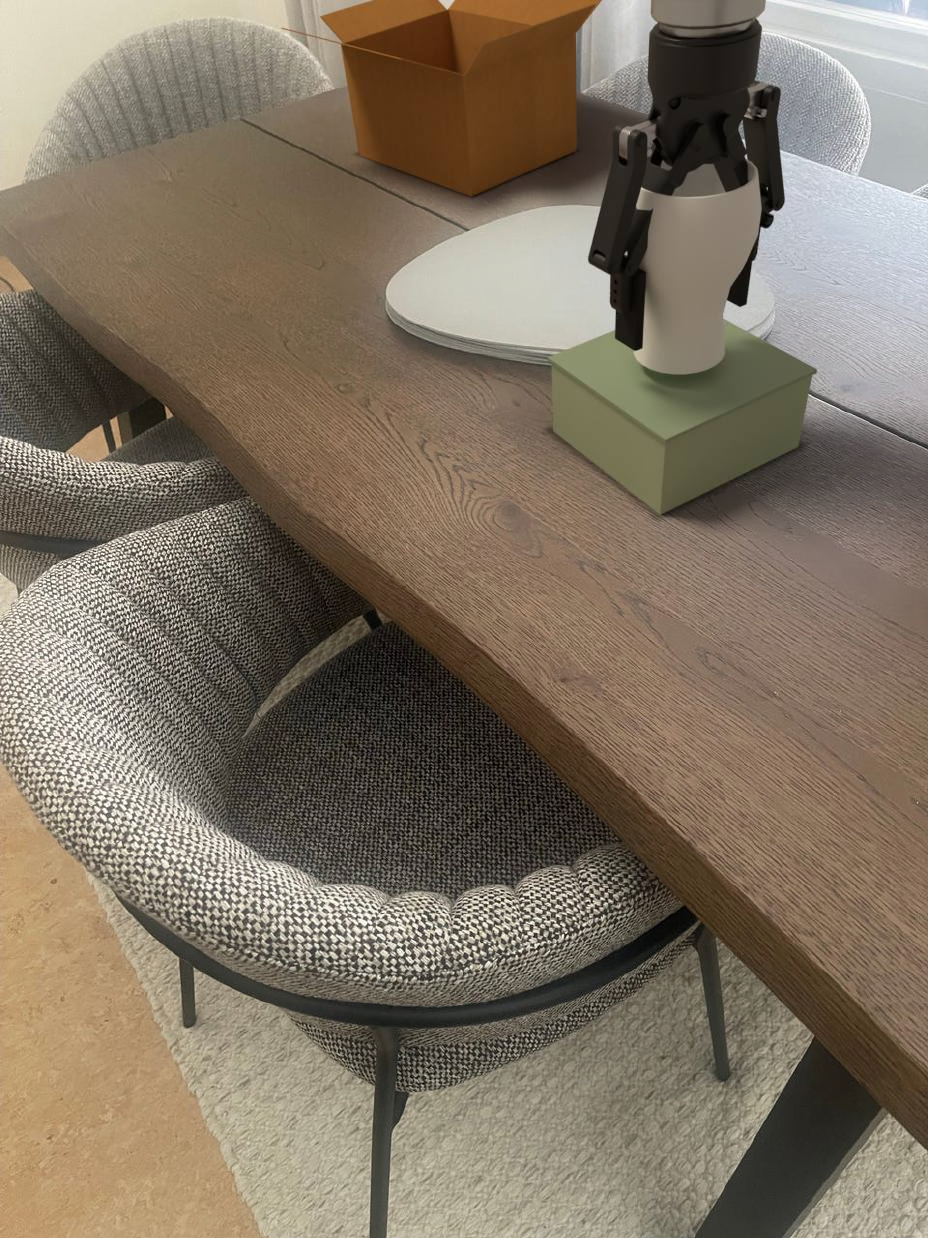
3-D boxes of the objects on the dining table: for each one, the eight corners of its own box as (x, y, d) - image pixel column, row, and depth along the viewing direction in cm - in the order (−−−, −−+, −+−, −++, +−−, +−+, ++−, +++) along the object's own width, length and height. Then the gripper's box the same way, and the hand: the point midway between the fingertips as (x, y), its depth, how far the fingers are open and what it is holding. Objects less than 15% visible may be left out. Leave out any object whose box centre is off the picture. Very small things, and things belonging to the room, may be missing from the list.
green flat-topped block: (801, 447, 85) (817, 369, 79) (659, 517, 80) (665, 439, 74) (682, 373, 95) (688, 299, 90) (550, 431, 90) (547, 357, 85)
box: (440, 227, 126) (421, 54, 111) (292, 165, 147) (259, 14, 132) (638, 139, 142) (644, -23, 127) (477, 95, 163) (467, -47, 148)
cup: (714, 396, 76) (735, 209, 65) (596, 368, 80) (598, 190, 70) (760, 335, 82) (786, 155, 71) (647, 312, 86) (656, 140, 76)
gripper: (791, -24, 69) (753, 264, 85) (534, 50, 62) (544, 349, 78) (871, -8, 65) (815, 293, 80) (602, 73, 58) (598, 386, 73)
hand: (681, 321), depth 79 cm, fingers closed on cup, 11 cm apart
